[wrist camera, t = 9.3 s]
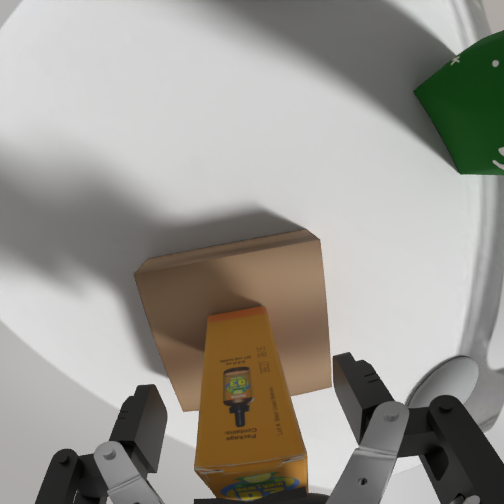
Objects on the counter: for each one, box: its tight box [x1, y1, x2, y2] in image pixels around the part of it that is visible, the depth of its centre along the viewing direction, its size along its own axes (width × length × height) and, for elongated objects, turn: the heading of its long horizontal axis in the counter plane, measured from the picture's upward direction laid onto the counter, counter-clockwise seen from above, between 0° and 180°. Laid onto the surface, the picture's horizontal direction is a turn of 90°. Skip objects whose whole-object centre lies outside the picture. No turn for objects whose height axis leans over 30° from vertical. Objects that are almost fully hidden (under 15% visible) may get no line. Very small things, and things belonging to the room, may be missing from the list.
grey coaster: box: [408, 356, 478, 408], centre depth 23 cm, size 9×9×1 cm
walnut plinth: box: [134, 229, 332, 412], centre depth 18 cm, size 10×10×3 cm
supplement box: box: [194, 306, 308, 501], centre depth 12 cm, size 3×3×10 cm
